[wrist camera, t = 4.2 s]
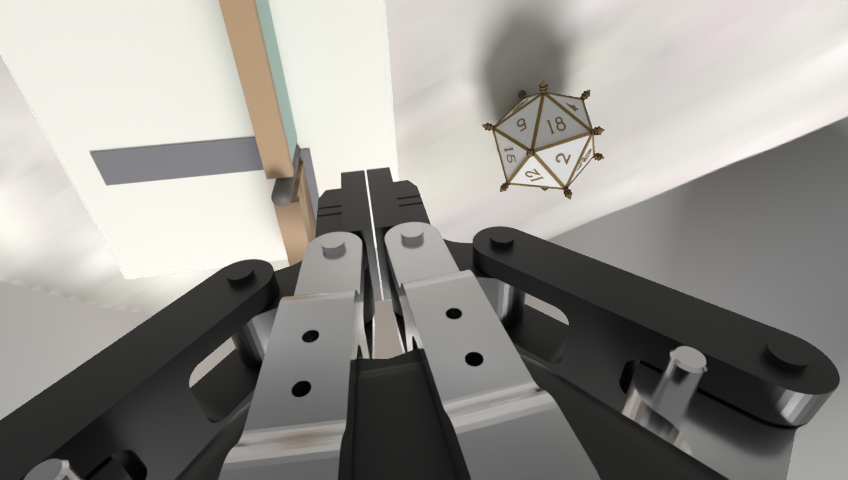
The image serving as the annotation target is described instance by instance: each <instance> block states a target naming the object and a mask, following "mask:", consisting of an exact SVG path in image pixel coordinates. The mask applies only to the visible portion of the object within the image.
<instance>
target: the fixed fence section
mask: <svg viewBox="0 0 848 480" xmlns="http://www.w3.org/2000/svg"><path fill="white" fill-rule="evenodd" d="M300 153H301V151H300V147H299V146H298V145H297V144H296V148H295V153H294V157H293V162H292V164H293V169H294V175H293V177H285V178H276V181H275V184H274V188H273V191H272V195H271V200H272V202H273V203H274V209H275V213H276V216H277V220H278V224H279V227H280V231H281V235H282V239H283V242H284V246H285V250H286V254H287V257H288V261H289V265H290V266H292V265H294V264H296V263H298V262H300V261H302V260H303V256H304V252H305V249H306V247H307V245H308V244H309V243H310V242H311V241H312V240H314V239H315V233H316V222H315V217H314V212H313V208H312V203H311V198H310V193H309V189H308V184H307V179H306V174H305V169H304V165H303V162H300V163H299V158H300Z"/></svg>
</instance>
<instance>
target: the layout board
mask: <svg viewBox="0 0 848 480" xmlns="http://www.w3.org/2000/svg"><path fill="white" fill-rule="evenodd" d="M268 1H269V6H270V11H271V15H272V20H273V25H274V30H275V34H276V39H277V44H278V49H279V53H280V58H281V63H282V68H283V72H284V77H285V82H286V87H287V91H288V96H289V101H290V106H291V110H292V115H293V120H294V125H295V129H296V134H297V143H296V144H297V145H298V146H299V147H300V151H301V153H300V158H299V163H300V162H303V165H304V169H305V174H306V179H307V184H308V189H309V193H310V198H311V203H312V208H313V212H314V217H315V222H316V221H317V210H318V199H319V197H320V196H321V195H322V194H323V193H324V192H325V191H326V190H331V189H339V188H341V173H342V172H351V171H360V170H364V172H365V179H366V186H367V193H368V200H369V207H370V215H371V222H372V229H373V237H374V245H375V248H377V244H376V237H375V229H374V222H373V215H372V207H371V200H370V193H369V185H368V178H367V171H366V170H368V169H376V168H385V167H389V168H390V172H391V175H392V179H393V182H397V181H399V178H398V165H397V151H396V138H395V125H394V112H393V98H392V85H391V72H390V58H389V45H388V32H387V18H386V5H385V0H268ZM0 55H1V56H2V58H3V60H4V62H5V63H6V65H7V67H8V69H9V71H10V72H11V74H12V76H13V78H14V80H15V81H16V83H17V85H18V87H19V89H20V90H21V92H22V94H23V96H24V98H25V99H26V101H27V103H28V105H29V107H30V108H31V110H32V112H33V114H34V116H35V117H36V119H37V121H38V123H39V125H40V126H41V128H42V130H43V132H44V134H45V135H46V137H47V139H48V141H49V143H50V144H51V146H52V148H53V150H54V152H55V153H56V155H57V157H58V159H59V161H60V162H61V164H62V166H63V168H64V170H65V171H66V173H67V175H68V177H69V179H70V180H71V182H72V184H73V186H74V188H75V189H76V191H77V193H78V195H79V197H80V198H81V200H82V202H83V204H84V206H85V207H86V209H87V211H88V213H89V215H90V216H91V218H92V220H93V222H94V224H95V225H96V227H97V229H98V231H99V233H100V234H101V236H102V238H103V240H104V242H105V243H106V245H107V247H108V249H109V251H110V252H111V254H112V256H113V258H114V260H115V261H116V263H117V265H118V267H119V269H120V270H121V272H122V274H123V276H124V278H125V279H126V280H127V279H135V278H143V277H151V276H159V275H166V274H174V273H182V272H190V271H198V270H206V269H214V268H221V267H226V266H228V265H230V264H232V263H235V262H238V261H242V260H248V259H260V260H264V261H267V262H269V261H276V260H284V259H288V257H287V254H286V250H285V246H284V242H283V239H282V235H281V231H280V227H279V224H278V220H277V216H276V213H275V209H274V203H273V202H272V200H271V195H272V191H273V188H274V184H275V181H276V178H275V179H266V175H265V172H264V168H263V164H262V160H261V157H260V153H259V149H258V145H257V142H256V138H255V134H254V131H253V127H252V123H251V119H250V116H249V112H248V108H247V104H246V101H245V97H244V93H243V90H242V86H241V82H240V78H239V75H238V71H237V67H236V63H235V60H234V56H233V52H232V49H231V45H230V41H229V37H228V34H227V30H226V26H225V22H224V19H223V15H222V11H221V8H220V4H219V0H0Z"/></svg>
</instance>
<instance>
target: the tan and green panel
mask: <svg viewBox="0 0 848 480" xmlns="http://www.w3.org/2000/svg"><path fill="white" fill-rule="evenodd" d="M219 4H220V8H221V11H222V15H223V19H224V22H225V26H226V30H227V34H228V37H229V41H230V45H231V49H232V52H233V56H234V60H235V63H236V67H237V71H238V75H239V78H240V82H241V86H242V90H243V93H244V97H245V101H246V104H247V108H248V112H249V116H250V119H251V123H252V127H253V131H254V134H255V138H256V142H257V145H258V149H259V153H260V157H261V160H262V164H263V168H264V172H265V175H266V179H275V178H285V177H293V175H294V169H293V164H292V162H293V157H294V153H295V148H296V143H297V134H296V129H295V125H294V120H293V115H292V110H291V106H290V101H289V96H288V91H287V87H286V82H285V77H284V72H283V68H282V63H281V58H280V53H279V49H278V44H277V39H276V34H275V30H274V25H273V20H272V15H271V11H270V6H269V1H268V0H219Z"/></svg>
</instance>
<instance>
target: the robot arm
mask: <svg viewBox="0 0 848 480" xmlns="http://www.w3.org/2000/svg"><path fill="white" fill-rule="evenodd" d="M366 171H367V178H368V185H369V193H370V200H371V207H372V215H373V222H374V229H375V237H376V244H377V251H378V259H379V266H380V273H381V280H382V288H383V295H384V300H388V299H392V304H393V312H394V320H395V325H396V328H397V332H398V336H399V340H400V343H401V347H402V350H403V354H401V355H399V356H396V357H393V358H390V359H375V321H374V313H375V303H374V302H375V301H382V298H381V291H380V283H379V275H378V268H377V260H376V252H375V245H374V237H373V229H372V222H371V215H370V207H369V200H368V193H367V186H366V179H365V172H364V170H360V171H351V172H342V173H341V188H339V189H331V190H326V191H325V192H324V193H323V194H322V195H321V196H320V197H319V199H318V210H317V221H316V233H315V239H314V240H312V241H311V242H310V243H309V244H308V245H307V247H306V249H305V252H304V256H303V260H302V261H300V262H298V263H296V264H294V265H292V266H289V267H286V268H283V269H280V270H277V271H275V272H274V270H273V267H272V265H271V264H270V263H268V262H267V261H264V260H260V259H248V260H242V261H238V262H235V263H232V264H230V265H228V266H226V267H224V268H222V269H221V270H219V271H218V272H216V273H215V274H213V275H212V276H211V277H209V278H208V279H206V280H205V281H203V282H202V283H200V284H199V285H197V286H196V287H194V288H193V289H192V290H190V291H189V292H187V293H186V294H184V295H183V296H181V297H180V298H178V299H177V300H175V301H174V302H173V303H171V304H170V305H168V306H167V307H165V308H164V309H162V310H161V311H159V312H158V313H156V314H155V315H154V316H152V317H151V318H150V319H148V320H146V321H145V322H143V323H142V324H140V325H139V326H137V327H136V328H135V329H133V330H132V331H130V332H129V333H127V334H126V335H124V336H123V337H121V338H120V339H118V340H117V341H116V342H114V343H113V344H111V345H110V346H108V347H107V348H105V349H104V350H102V351H101V352H100V353H98V354H97V355H95V356H94V357H92V358H91V359H89V360H88V361H86V362H85V363H83V364H82V365H80V366H79V367H78V368H76V369H75V370H73V371H72V372H70V373H69V374H67V375H66V376H64V377H63V378H62V379H60V380H59V381H57V382H56V383H54V384H53V385H51V386H50V387H48V388H47V389H45V390H44V391H43V392H41V393H40V394H38V395H37V396H35V397H34V398H32V399H31V400H29V401H28V402H26V403H25V404H24V405H22V406H21V407H19V408H18V409H16V410H15V411H13V412H12V413H10V414H9V415H8V416H6V417H4V418H3V419H2V420H0V480H786V478H787V473H788V468H789V463H790V457H791V452H792V447H793V442H794V440H795V439H796V438H797V437H798V435H799V434H800V433H801V431H802V430H803V429H804V428H805V427H806V425H807V424H808V423H809V422H810V420H811V419H812V418H813V417H814V415H815V414H816V413H817V412H818V411H819V409H820V408H821V407H822V406H823V404H824V403H825V402H826V401H827V399H828V398H829V397H830V395H831V394H832V393H833V392H834V391H835V389H836V388H837V386H838V384H839V381H840V378H839V373H838V371H837V369H836V367H835V365H834V364H833V363H832V361H831V360H830V359H829V358H828V357H827V356H826V355H825V354H824V353H822V352H821V351H820V350H819V349H817V348H816V347H815V346H813V345H811V344H810V343H808V342H806V341H805V340H803V339H801V338H798V337H796V336H794V335H792V334H789V333H787V332H784V331H781V330H779V329H776V328H773V327H771V326H768V325H765V324H763V323H760V322H758V321H755V320H752V319H750V318H747V317H745V316H742V315H739V314H737V313H734V312H731V311H729V310H726V309H724V308H721V307H718V306H716V305H713V304H710V303H708V302H705V301H703V300H700V299H697V298H695V297H692V296H690V295H687V294H684V293H682V292H679V291H677V290H674V289H671V288H668V287H666V286H664V285H661V284H658V283H656V282H653V281H650V280H648V279H645V278H643V277H640V276H637V275H634V274H632V273H630V272H627V271H624V270H622V269H619V268H616V267H614V266H611V265H609V264H606V263H603V262H601V261H598V260H595V259H593V258H590V257H588V256H585V255H582V254H580V253H577V252H574V251H572V250H569V249H567V248H564V247H561V246H559V245H556V244H554V243H551V242H548V241H546V240H543V239H541V238H538V237H535V236H533V235H530V234H527V233H525V232H522V231H520V230H517V229H514V228H510V227H490V228H486V229H484V230H481V231H480V232H478V233H477V234H476V235H475V236H474V238H473V243H458V242H452V241H448V240H445V239H443V238H442V236H441V235H440V233H439V231H438V230H437V229H436V228H435V227H434V226H432V225H431V224H430V222H429V219H428V216H427V213H426V210H425V207H424V205H423V202H422V199H421V197H420V193H419V191H418V188H417V186H415V185H414V184H413V183H411V182H410V181H408V180H406V181H397V182H393V179H392V175H391V172H390V168H389V167H385V168H376V169H368V170H366ZM526 293H528V294H530V295H532V296H534V297H536V298H538V299H540V300H542V301H544V302H546V303H549V304H551V305H553V306H555V307H557V308H558V309H560V310H561V311H562V312H563V313H564V314H565V315H566V317H567V319H568V321H569V326H568V325H566V324H564V323H562V322H560V321H558V320H556V319H554V318H552V317H550V316H548V315H546V314H544V313H542V312H540V311H538V310H536V309H534V308H532V307H530V306H528V305H526V304H525V295H526ZM230 337H232V340H233V342H234V344H235V347H236V349H235V350H233V351H232V352H231V353H230V354H229V355H228V356H227V357H225V358H224V359H223V360H222V361H221V362H220V363H219V364H217V365H216V366H215V367H214V368H213V369H212V370H211V371H209V372H208V373H207V374H206V375H205V376H204V377H203V378H201V379H200V380H199V381H198V382H197V383H196V384H195V385H194V386H192V387H191V388H190V387H189V379H190V376H191V374H192V372H193V370H194V369H195V367H196V366H197V365H198V364H199V363H200V362H201V361H203V360H204V359H205V358H206V357H207V356H209V355H210V354H211V353H212V352H213V351H214V350H216V349H217V348H218V347H219V346H220V345H221V344H223V343H224V342H225V341H226V340H228V339H229V338H230Z"/></svg>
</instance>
